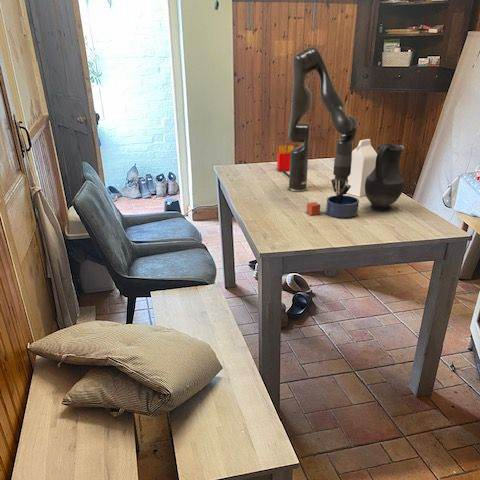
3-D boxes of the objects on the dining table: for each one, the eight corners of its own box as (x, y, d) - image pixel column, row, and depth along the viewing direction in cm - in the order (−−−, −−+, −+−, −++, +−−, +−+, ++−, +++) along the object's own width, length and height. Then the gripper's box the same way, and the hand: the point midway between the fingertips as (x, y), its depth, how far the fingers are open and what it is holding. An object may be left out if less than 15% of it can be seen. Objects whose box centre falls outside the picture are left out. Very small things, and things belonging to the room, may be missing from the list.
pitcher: (404, 206, 238) (415, 141, 222) (389, 218, 223) (400, 149, 208) (370, 200, 246) (378, 137, 231) (353, 212, 231) (360, 145, 216)
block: (306, 212, 231) (307, 203, 229) (315, 211, 232) (315, 202, 230) (311, 215, 227) (311, 205, 225) (319, 214, 229) (320, 204, 227)
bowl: (320, 211, 233) (321, 197, 229) (346, 207, 237) (347, 193, 234) (336, 220, 221) (337, 206, 218) (363, 216, 226) (365, 202, 223)
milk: (359, 196, 252) (365, 143, 239) (342, 191, 260) (348, 139, 247) (375, 192, 258) (382, 140, 245) (358, 187, 266) (364, 136, 253)
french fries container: (276, 168, 302) (277, 144, 295) (291, 168, 303) (292, 144, 296) (279, 171, 296) (280, 147, 289) (294, 171, 297) (295, 146, 290)
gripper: (327, 161, 225) (324, 199, 233) (343, 168, 214) (339, 207, 223) (341, 160, 227) (338, 197, 236) (358, 166, 216) (353, 205, 225)
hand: (339, 202), depth 229 cm, fingers closed
